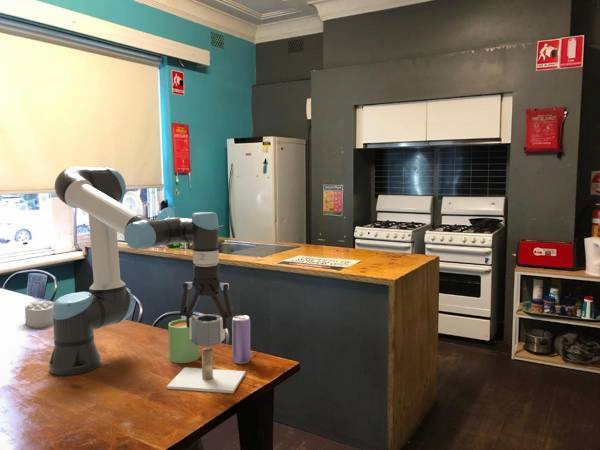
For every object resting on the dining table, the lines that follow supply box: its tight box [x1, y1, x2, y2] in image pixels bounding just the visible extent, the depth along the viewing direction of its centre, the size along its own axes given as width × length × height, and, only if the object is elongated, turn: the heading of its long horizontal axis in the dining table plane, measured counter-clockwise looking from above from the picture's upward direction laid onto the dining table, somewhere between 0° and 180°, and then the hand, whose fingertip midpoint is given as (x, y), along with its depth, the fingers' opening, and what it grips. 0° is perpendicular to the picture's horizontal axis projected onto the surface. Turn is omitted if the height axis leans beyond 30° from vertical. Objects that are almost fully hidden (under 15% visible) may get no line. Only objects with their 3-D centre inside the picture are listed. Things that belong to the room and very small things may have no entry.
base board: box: [166, 366, 246, 394], centre depth 146 cm, size 20×14×1 cm
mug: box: [168, 318, 200, 364], centre depth 165 cm, size 13×10×12 cm
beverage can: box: [231, 314, 251, 365], centre depth 161 cm, size 6×6×15 cm
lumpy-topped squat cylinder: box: [24, 300, 54, 328], centre depth 202 cm, size 10×13×9 cm
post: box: [201, 347, 214, 381], centre depth 146 cm, size 3×3×9 cm
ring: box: [192, 313, 223, 347], centre depth 145 cm, size 9×9×7 cm
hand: (207, 338), depth 145 cm, fingers closed on ring, 9 cm apart
